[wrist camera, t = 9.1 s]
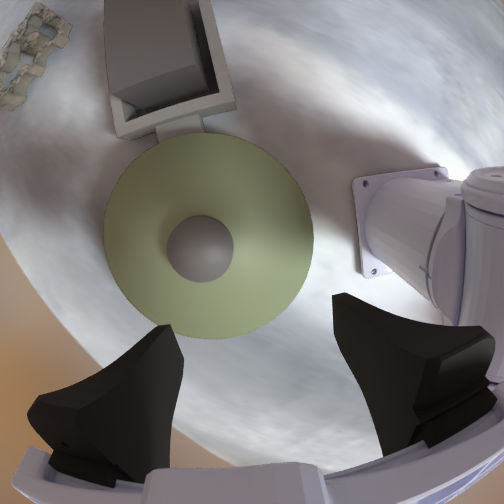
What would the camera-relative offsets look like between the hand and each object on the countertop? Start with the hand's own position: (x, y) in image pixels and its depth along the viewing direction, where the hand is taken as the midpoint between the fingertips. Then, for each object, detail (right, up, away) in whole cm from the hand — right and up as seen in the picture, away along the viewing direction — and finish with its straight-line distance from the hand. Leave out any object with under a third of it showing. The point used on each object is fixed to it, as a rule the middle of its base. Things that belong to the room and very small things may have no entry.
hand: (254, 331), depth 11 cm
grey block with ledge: (-6, +18, +4) cm, 19 cm away
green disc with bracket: (-5, +10, +7) cm, 13 cm away
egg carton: (-22, +22, +3) cm, 31 cm away
